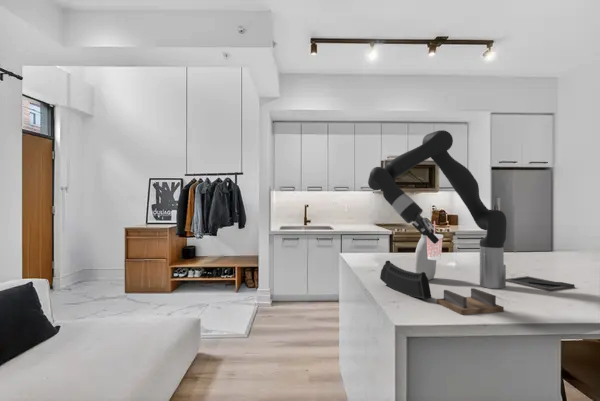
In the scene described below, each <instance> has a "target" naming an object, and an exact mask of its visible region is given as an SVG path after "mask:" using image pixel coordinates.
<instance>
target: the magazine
mask: <svg viewBox="0 0 600 401" xmlns="http://www.w3.org/2000/svg"><path fill="white" fill-rule="evenodd" d="M379 279H380V280H381V281H382V282H383V283H384V284H385V286H386V287H389V288H391V289H393V290H394V291H396V292H399V293H401V294H403V295H406V296H408V295H409V297H413V298H420V299H423V300H429V299H432V293H431V288H430V282H429V281H430V280H428V278H427V276H426V273H425V272H422V273H415V271H414V272H413V271H410V270H409V271H408V270H405V269H402V268H401V267H398V266H397V265H395V264H394V263H392V262H391V261H390V260H385V263H384V264H383V266H382V269H381V271H380V275H379Z"/></svg>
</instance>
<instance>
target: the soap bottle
mask: <svg viewBox="0 0 600 401" xmlns="http://www.w3.org/2000/svg"><path fill="white" fill-rule="evenodd" d="M432 225H433V226H434V224H432ZM422 272H425V273H426V276H427V278H428V281H430V280H433V279H434V278H435V275H436V272H437V260H430V259H428V254H427V237H426V236H425V235H422V234H421V236H420V239H419V240H418V242H417V245H416V248H415V253H414V273H422Z"/></svg>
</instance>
